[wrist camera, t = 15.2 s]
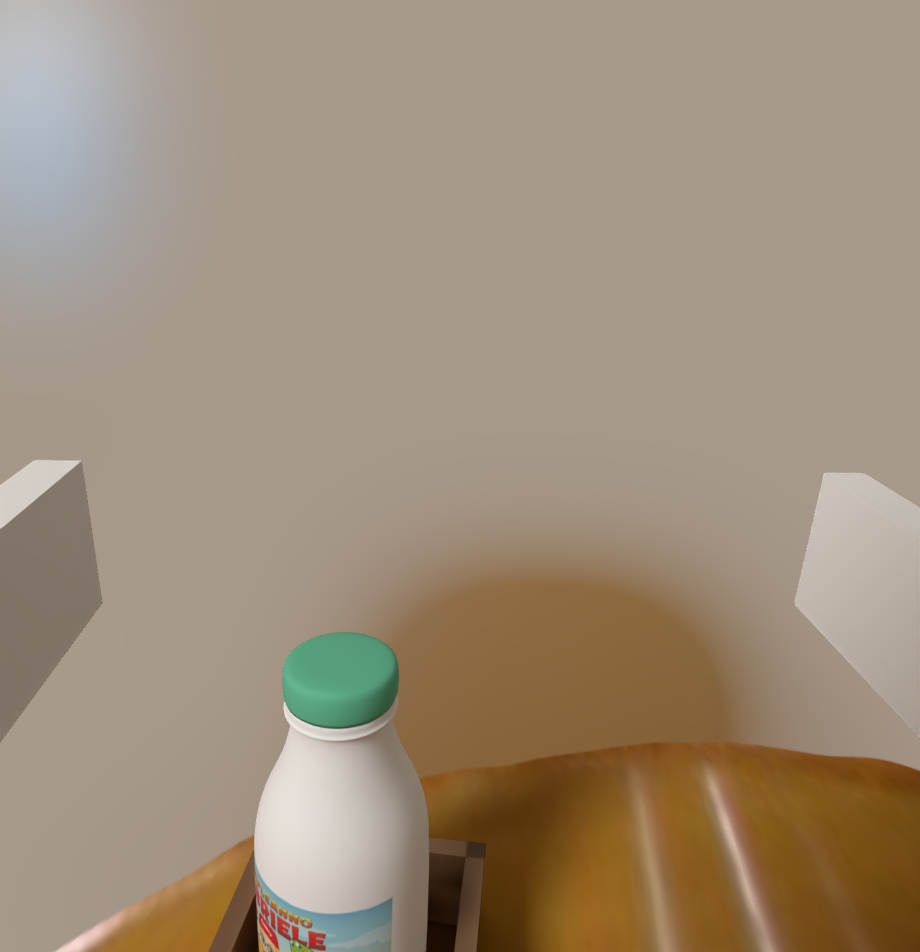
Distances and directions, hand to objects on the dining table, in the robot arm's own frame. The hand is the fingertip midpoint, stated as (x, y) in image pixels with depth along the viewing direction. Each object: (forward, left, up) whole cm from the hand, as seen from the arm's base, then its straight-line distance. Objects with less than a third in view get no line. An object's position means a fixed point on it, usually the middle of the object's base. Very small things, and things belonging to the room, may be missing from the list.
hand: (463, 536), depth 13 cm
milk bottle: (+6, -13, -32) cm, 35 cm away
